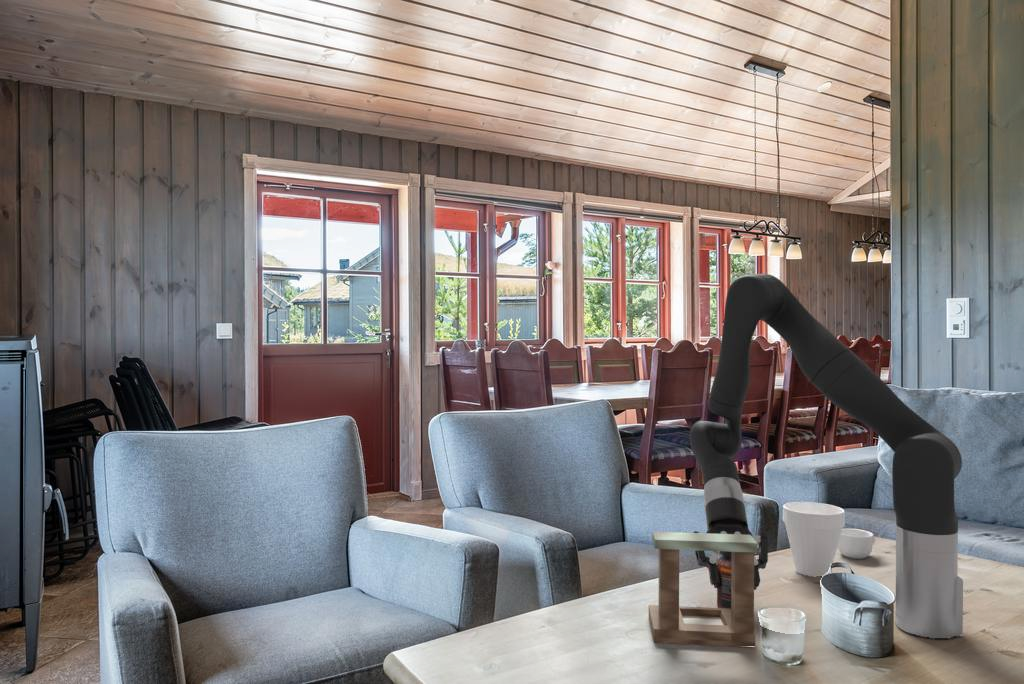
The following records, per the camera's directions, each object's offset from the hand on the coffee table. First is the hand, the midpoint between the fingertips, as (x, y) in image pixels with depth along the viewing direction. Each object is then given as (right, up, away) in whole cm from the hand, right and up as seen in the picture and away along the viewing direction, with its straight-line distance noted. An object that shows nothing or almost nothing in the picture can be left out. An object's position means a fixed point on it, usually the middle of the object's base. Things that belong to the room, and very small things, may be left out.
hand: (735, 586), depth 132 cm
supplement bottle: (0, -5, +2) cm, 5 cm away
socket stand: (-9, -5, -9) cm, 13 cm away
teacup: (+39, -5, +37) cm, 54 cm away
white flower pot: (+24, -5, +24) cm, 34 cm away
